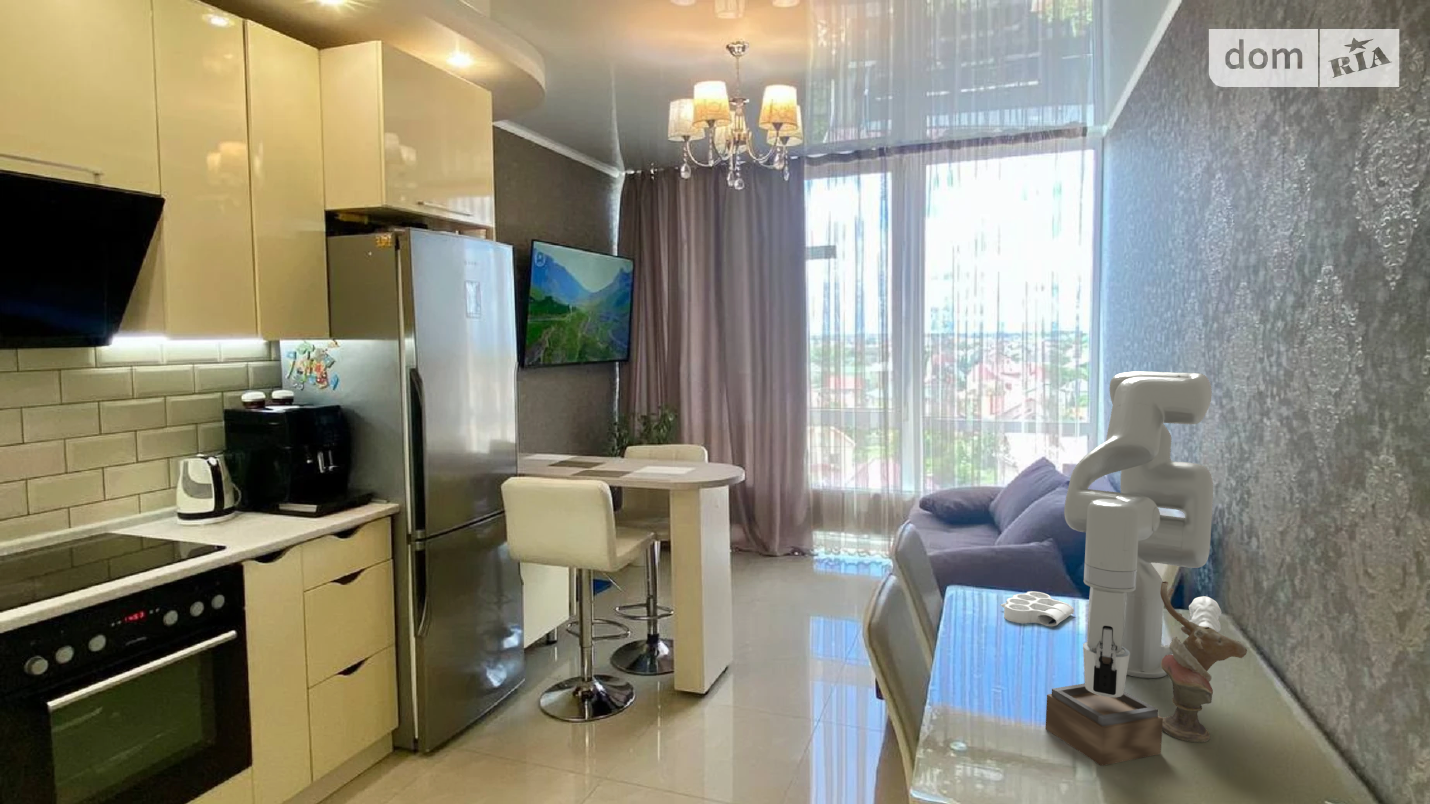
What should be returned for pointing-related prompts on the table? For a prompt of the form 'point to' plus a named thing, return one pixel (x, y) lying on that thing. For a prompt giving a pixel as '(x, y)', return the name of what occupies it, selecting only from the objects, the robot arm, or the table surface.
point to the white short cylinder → (1121, 668)
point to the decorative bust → (1193, 672)
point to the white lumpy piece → (1205, 613)
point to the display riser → (1104, 724)
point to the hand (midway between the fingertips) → (1104, 683)
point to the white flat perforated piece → (1036, 609)
